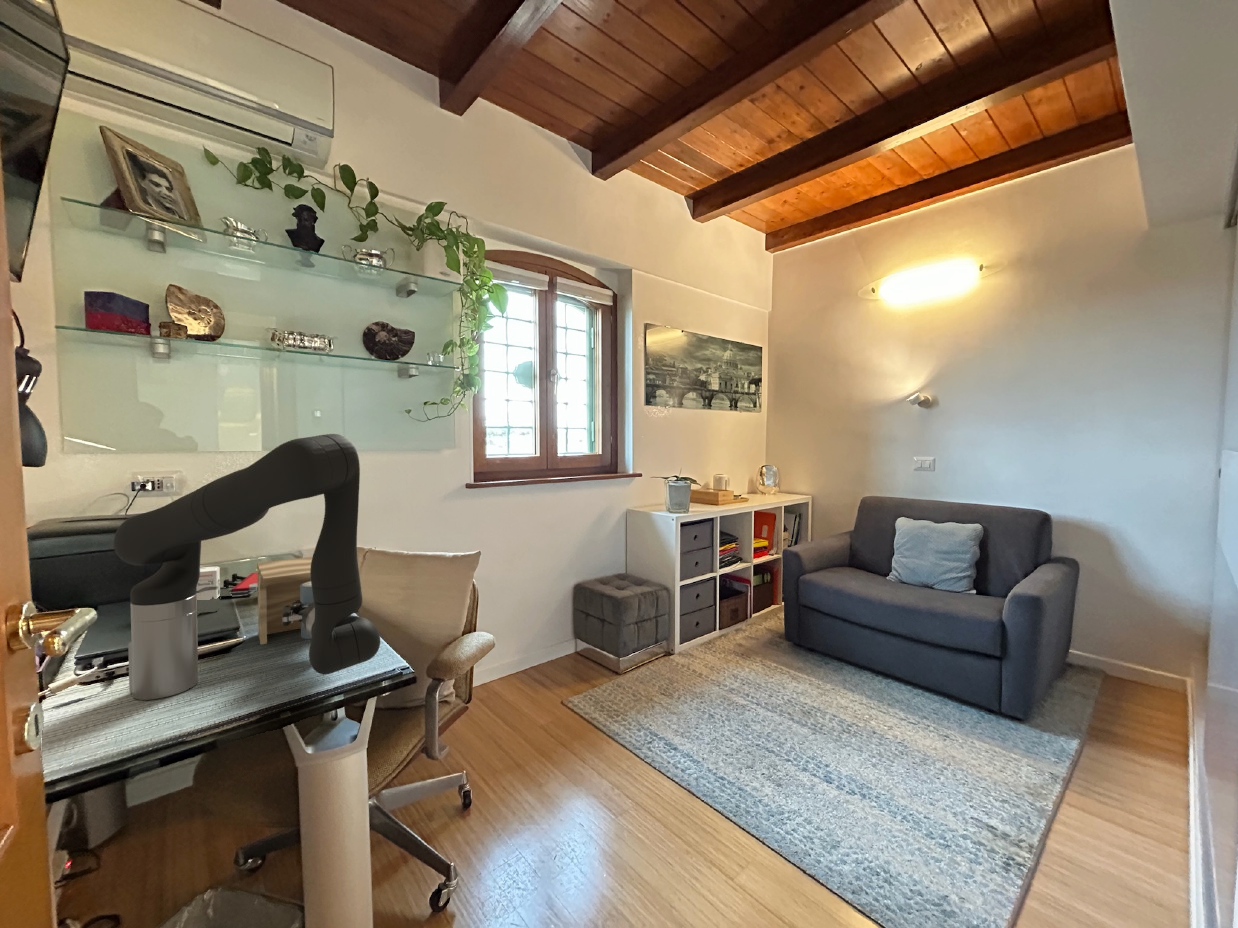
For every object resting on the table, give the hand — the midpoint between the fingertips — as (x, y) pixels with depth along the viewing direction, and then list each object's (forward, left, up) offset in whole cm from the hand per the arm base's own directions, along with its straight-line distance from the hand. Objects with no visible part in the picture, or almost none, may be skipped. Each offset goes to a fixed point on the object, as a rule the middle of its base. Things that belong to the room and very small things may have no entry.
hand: (314, 601), depth 112 cm
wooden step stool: (-9, +7, -12) cm, 16 cm away
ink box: (-52, +16, -12) cm, 55 cm away
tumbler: (+2, -2, -6) cm, 7 cm away
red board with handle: (-62, +41, -12) cm, 75 cm away
